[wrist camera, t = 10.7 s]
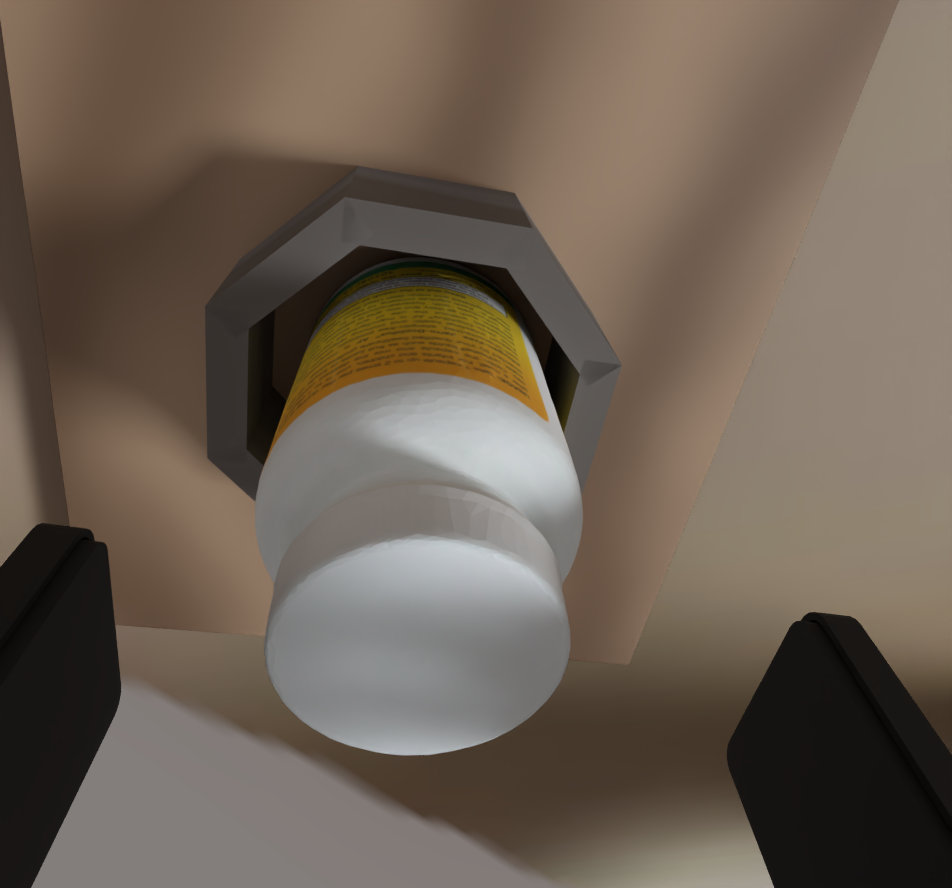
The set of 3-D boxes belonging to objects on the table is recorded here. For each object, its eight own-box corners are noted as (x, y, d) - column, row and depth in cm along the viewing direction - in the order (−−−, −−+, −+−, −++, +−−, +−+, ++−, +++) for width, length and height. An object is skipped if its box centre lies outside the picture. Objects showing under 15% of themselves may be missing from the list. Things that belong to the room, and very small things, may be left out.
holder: (881, -57, 15) (1040, -82, 11) (618, 631, 25) (653, 744, 21) (3, -270, 12) (-183, -397, 9) (102, 587, 22) (35, 706, 19)
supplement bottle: (565, 394, 18) (684, 706, 10) (385, 482, 19) (361, 832, 11) (464, 204, 16) (514, 416, 7) (263, 319, 17) (112, 615, 8)
